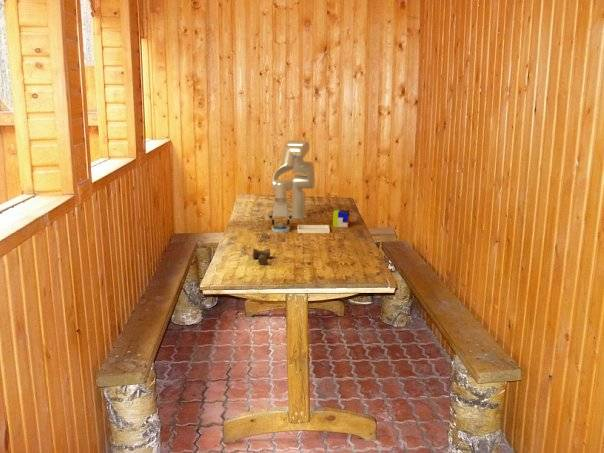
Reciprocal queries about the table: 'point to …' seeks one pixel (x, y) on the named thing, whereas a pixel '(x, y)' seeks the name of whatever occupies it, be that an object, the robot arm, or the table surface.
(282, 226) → the ball
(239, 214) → the table surface
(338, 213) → the puzzle toy
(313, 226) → the white rectangular frame
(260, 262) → the kendama
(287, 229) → the bowl
